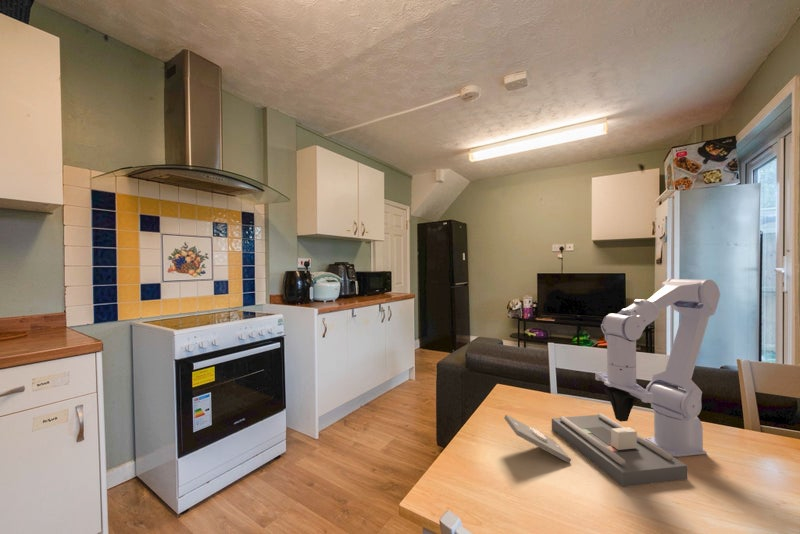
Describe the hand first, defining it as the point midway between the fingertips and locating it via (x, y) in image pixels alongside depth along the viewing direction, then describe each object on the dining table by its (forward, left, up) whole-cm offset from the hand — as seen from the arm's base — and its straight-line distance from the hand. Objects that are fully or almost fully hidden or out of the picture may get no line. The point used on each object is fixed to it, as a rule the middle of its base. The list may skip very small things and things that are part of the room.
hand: (621, 420), depth 75 cm
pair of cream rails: (0, -4, -6) cm, 7 cm away
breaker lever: (0, +1, -6) cm, 6 cm away
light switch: (+19, -5, -10) cm, 22 cm away
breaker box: (0, -4, -9) cm, 10 cm away
